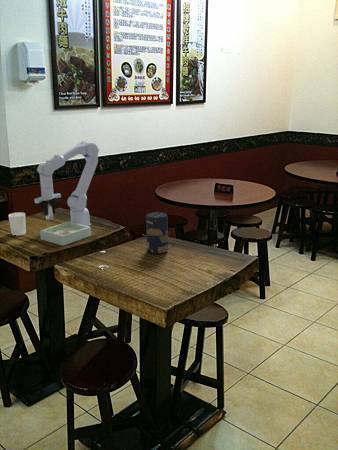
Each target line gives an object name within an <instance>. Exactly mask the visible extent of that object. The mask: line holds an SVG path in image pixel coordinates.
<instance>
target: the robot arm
mask: <svg viewBox="0 0 338 450" xmlns="http://www.w3.org/2000/svg"><path fill="white" fill-rule="evenodd" d="M99 152H100V149H99V148H98V145H97V144H96V143H94V142H87V141H81V142H79V143H77V144H76V145H75V146H74V147H72V148H70V149H69V150H68V151H66V152H64V153H63V154H62V155H61V154H55V155H53V157H51V158H50V159H47V160H45V162H40V163H39V164H38V166H37V168H36V171H37V173H38V174H39V181H40V183H39V184H40V191H41V196H40V197H36V198H34V203H35V204H37V205H39V207H40V208H41V210H42V212H43V213H42V214H43V216H45V217H46V216H48V205H52V208H53V215H54V214H56V213H55V212H56V208H57V204H58V202H59V199H60V198H61V197H62V194H61V193H59V192H58V193H54V185H53V174H54V171H56V170H58V169H60V168H61V167H63V166H64V165H65V164H66V161H68V160H70V159H72V158H75V157H77V156H78V155H82V156H83V158H84V160H85V161H86V163H85V165H84V168H83V169H82V172H81V175H80V178H79V180H78V183H77V186H76V188H75V190H74V191H72V193H71V194H70V196H69V197H68V198H67V202H66V203H67V206H69V209H70V222H73V223H77V224H81V225H85V226H89V227H90V226H91V225H92V223H91V220H90V219H91V217H90V212H89V210H88V208H87V200H88V197H87V191H88V190H89V187H90V184H91V181H92V179H93V176H94V173H95V171H96V168H97V166H98V164H99ZM58 198H59V199H58ZM47 201H48V202H47Z"/></svg>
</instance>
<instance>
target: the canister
mask: <svg viewBox="0 0 338 450" xmlns="http://www.w3.org/2000/svg"><path fill="white" fill-rule="evenodd" d="M168 222H169V220H168V215H167V213H164V212H160V211H154V212H150V213H148V214H146V216H145V226H146V227H145V230H146V233H145V234H146V235H145V236H146V250H147V252H149V253H151V254H163V253H166V252H167V251H168V249H169V225H168Z"/></svg>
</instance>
